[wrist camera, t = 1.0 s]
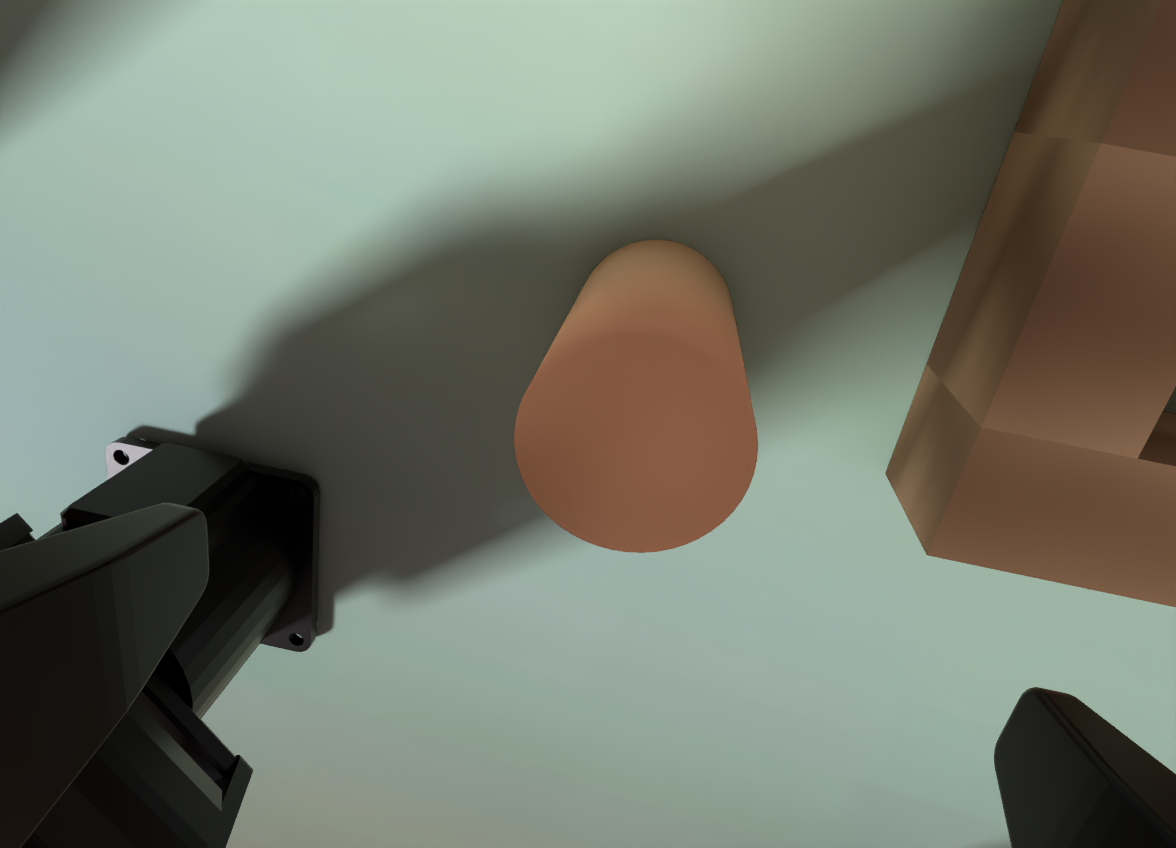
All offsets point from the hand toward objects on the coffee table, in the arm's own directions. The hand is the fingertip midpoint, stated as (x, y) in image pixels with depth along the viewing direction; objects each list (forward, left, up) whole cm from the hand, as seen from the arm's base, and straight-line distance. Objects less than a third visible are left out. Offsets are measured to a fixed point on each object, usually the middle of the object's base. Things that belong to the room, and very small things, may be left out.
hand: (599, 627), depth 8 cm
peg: (0, 0, -13) cm, 13 cm away
